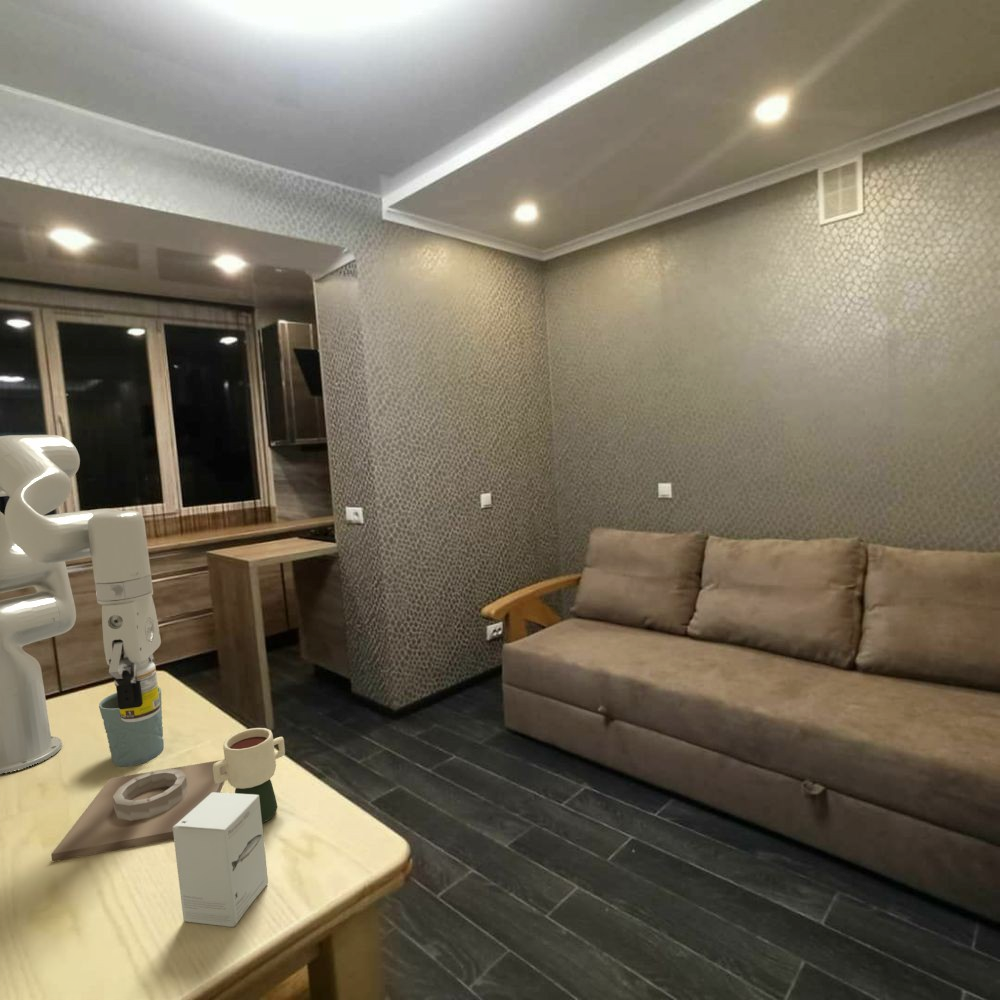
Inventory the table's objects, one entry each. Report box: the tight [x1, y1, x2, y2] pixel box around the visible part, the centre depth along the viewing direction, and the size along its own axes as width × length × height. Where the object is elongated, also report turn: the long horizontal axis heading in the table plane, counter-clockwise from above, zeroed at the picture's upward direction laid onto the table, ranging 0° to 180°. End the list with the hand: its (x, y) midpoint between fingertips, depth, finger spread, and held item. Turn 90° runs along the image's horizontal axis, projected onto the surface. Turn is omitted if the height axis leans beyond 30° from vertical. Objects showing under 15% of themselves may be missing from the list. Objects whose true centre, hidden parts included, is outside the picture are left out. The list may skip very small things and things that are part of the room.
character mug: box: [213, 727, 286, 824], centre depth 91 cm, size 11×7×13 cm, turn 134°
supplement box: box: [173, 792, 269, 928], centre depth 74 cm, size 7×7×13 cm
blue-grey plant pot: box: [98, 686, 165, 768], centre depth 113 cm, size 10×10×12 cm
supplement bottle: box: [119, 657, 160, 722], centre depth 94 cm, size 6×6×10 cm
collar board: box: [50, 759, 226, 862], centre depth 96 cm, size 20×20×4 cm
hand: (138, 697), depth 95 cm, fingers closed on supplement bottle, 5 cm apart
